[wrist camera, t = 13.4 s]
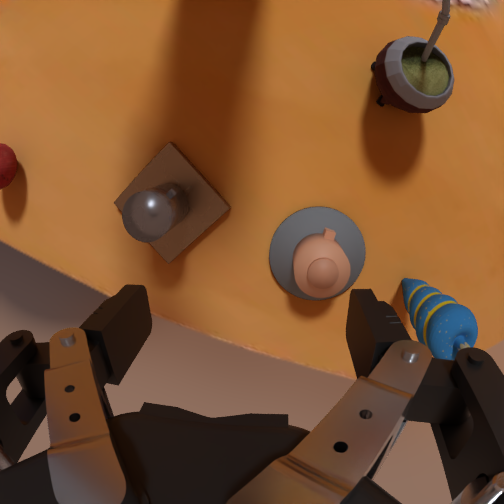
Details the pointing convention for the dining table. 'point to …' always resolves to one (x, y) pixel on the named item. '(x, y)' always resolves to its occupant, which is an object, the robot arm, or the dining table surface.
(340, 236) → the coaster
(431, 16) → the dining table surface
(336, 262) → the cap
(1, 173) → the onion
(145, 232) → the cylinder on square base
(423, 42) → the mate gourd
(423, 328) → the ornament
